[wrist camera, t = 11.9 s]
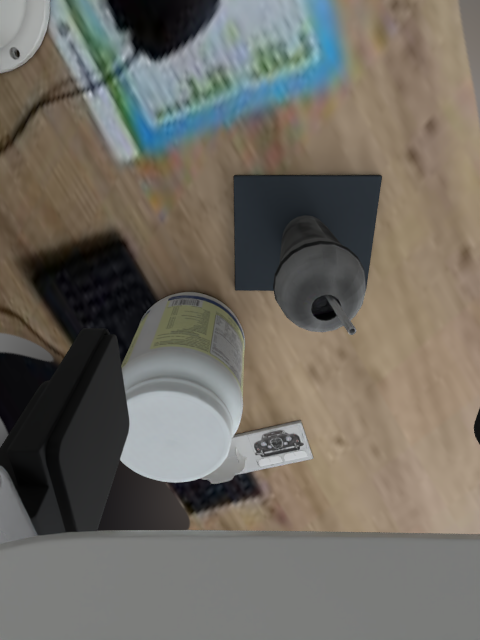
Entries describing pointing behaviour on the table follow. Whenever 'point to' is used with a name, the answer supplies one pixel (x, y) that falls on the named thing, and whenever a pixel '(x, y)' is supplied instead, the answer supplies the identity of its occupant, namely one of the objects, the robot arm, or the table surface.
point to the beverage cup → (318, 278)
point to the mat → (294, 201)
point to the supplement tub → (183, 388)
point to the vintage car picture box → (263, 451)
